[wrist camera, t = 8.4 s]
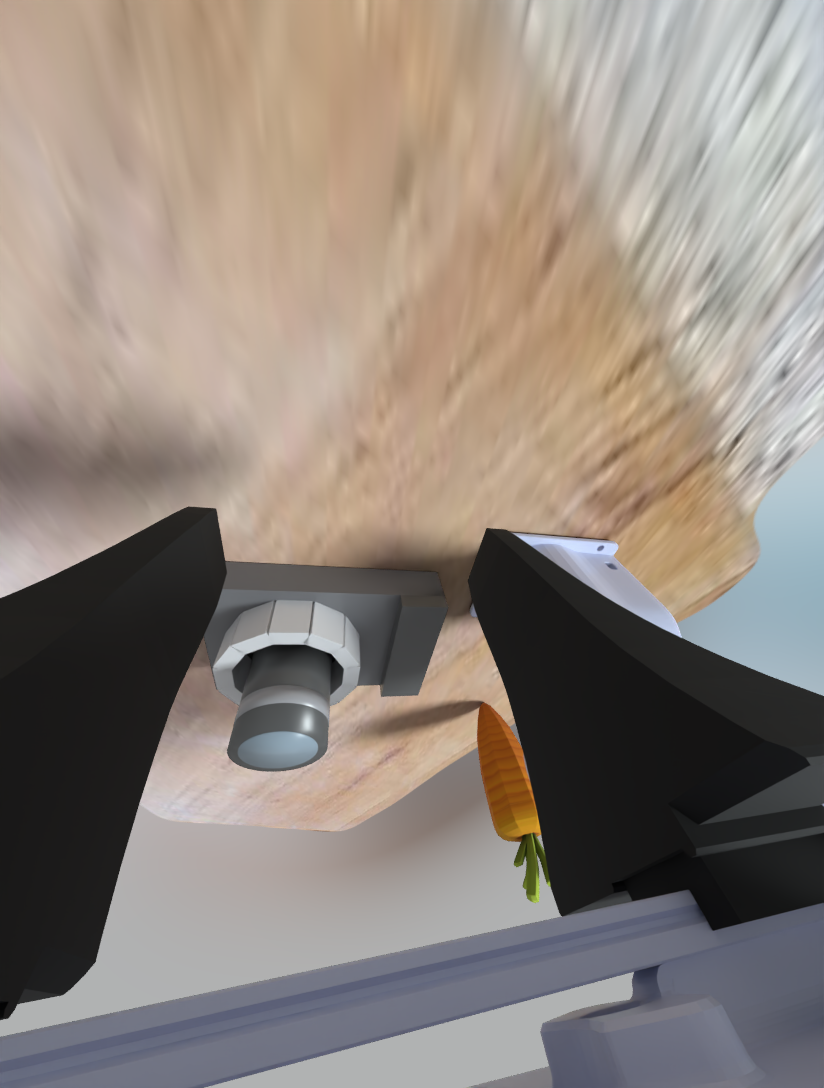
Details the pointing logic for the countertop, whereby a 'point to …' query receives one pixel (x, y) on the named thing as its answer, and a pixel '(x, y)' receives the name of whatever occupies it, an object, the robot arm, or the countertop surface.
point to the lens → (283, 709)
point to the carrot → (510, 794)
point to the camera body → (328, 623)
